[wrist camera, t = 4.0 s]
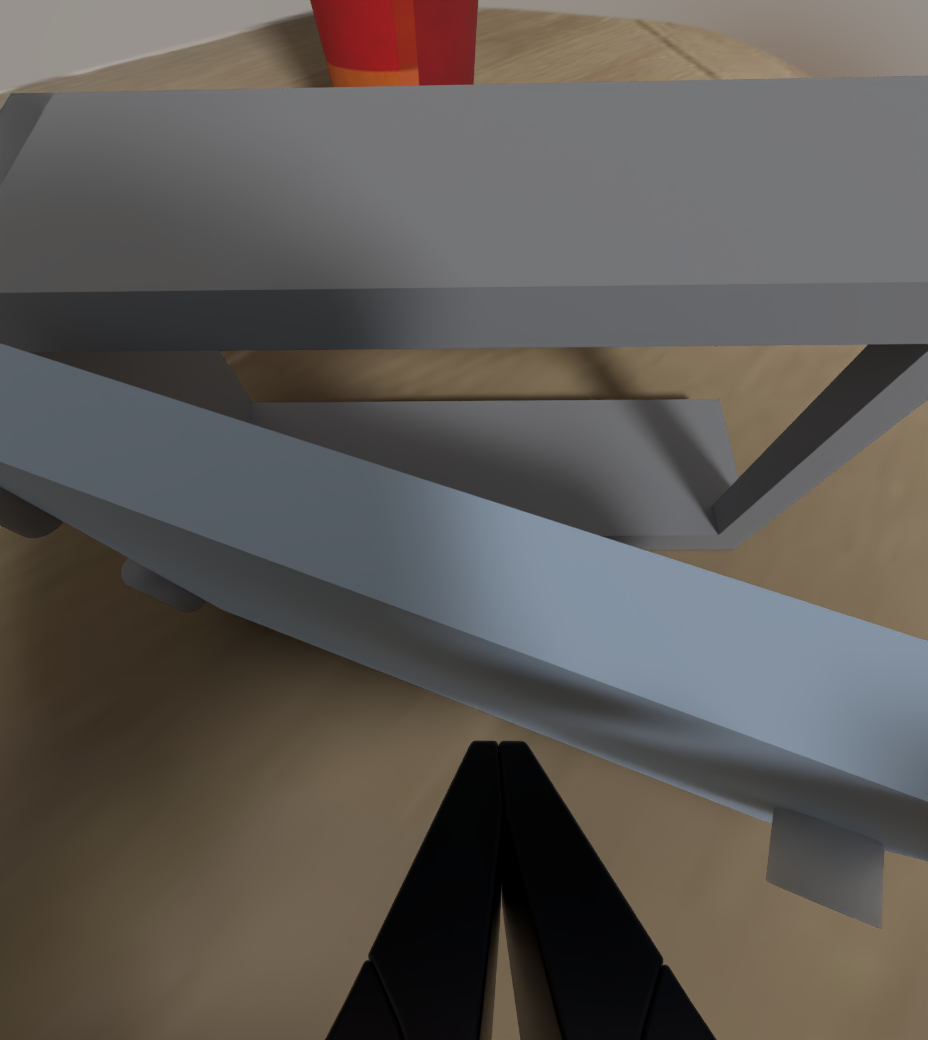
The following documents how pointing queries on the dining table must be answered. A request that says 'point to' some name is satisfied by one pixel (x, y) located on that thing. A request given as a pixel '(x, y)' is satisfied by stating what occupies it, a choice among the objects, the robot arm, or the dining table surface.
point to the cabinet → (491, 267)
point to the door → (498, 614)
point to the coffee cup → (398, 41)
